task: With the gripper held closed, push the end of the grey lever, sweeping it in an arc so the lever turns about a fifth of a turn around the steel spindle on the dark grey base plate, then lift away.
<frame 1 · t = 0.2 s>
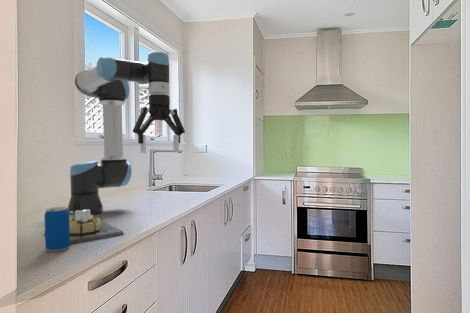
hand: (160, 152, 130), 28 cm above the worktop, fingers open, 13 cm apart
grey lever: (78, 220, 125), point 4 cm above the worktop, hinge at 0.0°
base plate: (83, 234, 120), on the worktop
beverage can: (58, 249, 103), on the worktop
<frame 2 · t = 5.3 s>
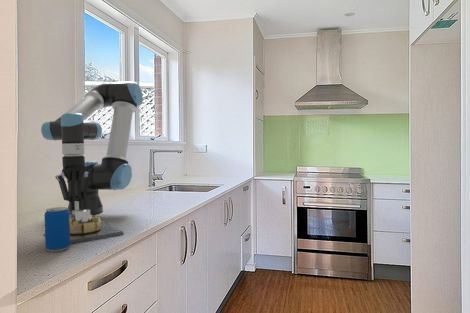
hand: (75, 218, 130), 3 cm above the worktop, fingers closed
grey lever: (76, 221, 124), point 4 cm above the worktop, hinge at 4.5°, touching gripper
everything else where it was.
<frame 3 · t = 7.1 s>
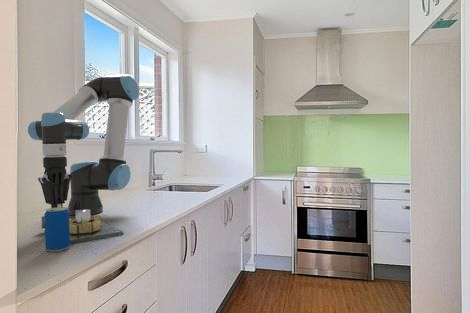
hand: (57, 222, 125), 3 cm above the worktop, fingers closed
grey lever: (69, 222, 122), point 4 cm above the worktop, hinge at 35.0°, touching gripper
everything else where it was.
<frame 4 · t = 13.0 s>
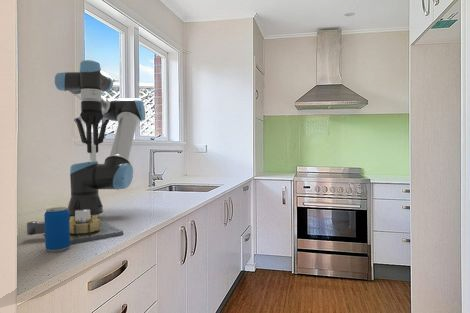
hand: (93, 161, 138), 24 cm above the worktop, fingers closed
grey lever: (64, 225, 118), point 4 cm above the worktop, hinge at 69.2°
everything else where it was.
at the end: grey lever at +69° (first picture: +0°); beverage can moved 0.3 cm from its start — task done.
